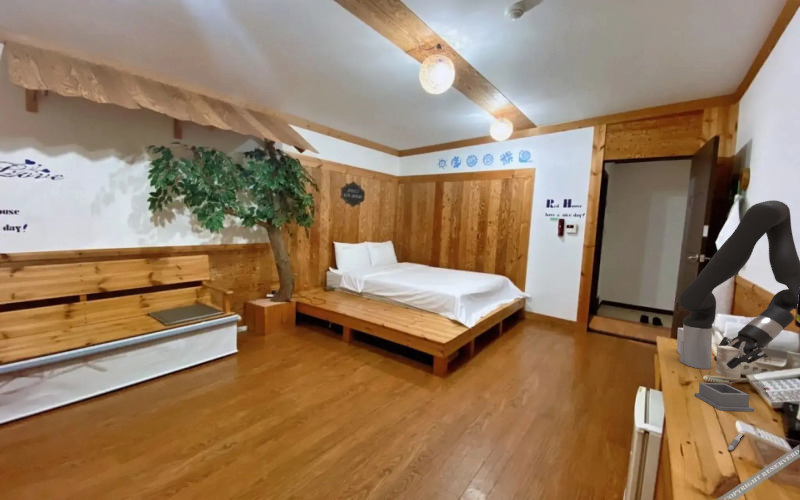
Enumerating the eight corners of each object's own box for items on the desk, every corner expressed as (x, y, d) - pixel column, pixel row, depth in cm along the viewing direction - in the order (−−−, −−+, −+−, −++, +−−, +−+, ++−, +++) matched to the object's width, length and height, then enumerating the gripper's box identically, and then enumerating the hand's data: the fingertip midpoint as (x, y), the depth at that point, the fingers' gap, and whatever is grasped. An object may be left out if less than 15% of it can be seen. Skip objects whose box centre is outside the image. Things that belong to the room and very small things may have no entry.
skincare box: (681, 355, 154) (681, 329, 153) (676, 351, 158) (676, 327, 157) (697, 356, 152) (697, 330, 151) (691, 353, 156) (692, 328, 156)
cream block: (715, 372, 119) (716, 345, 119) (728, 372, 119) (729, 346, 118) (726, 377, 115) (728, 350, 114) (740, 378, 115) (741, 350, 114)
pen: (745, 436, 91) (745, 431, 91) (732, 454, 84) (732, 448, 84) (740, 434, 92) (740, 429, 92) (726, 452, 85) (726, 446, 85)
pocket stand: (694, 395, 114) (694, 381, 114) (725, 396, 113) (725, 382, 113) (720, 410, 104) (720, 395, 104) (753, 411, 103) (754, 396, 103)
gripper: (733, 318, 122) (698, 349, 124) (774, 330, 108) (733, 364, 110) (747, 332, 122) (712, 363, 124) (790, 345, 108) (749, 380, 110)
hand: (722, 363), depth 117 cm, fingers closed on cream block, 4 cm apart
